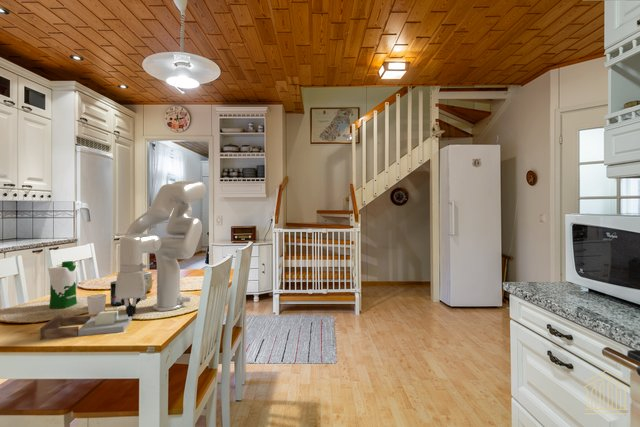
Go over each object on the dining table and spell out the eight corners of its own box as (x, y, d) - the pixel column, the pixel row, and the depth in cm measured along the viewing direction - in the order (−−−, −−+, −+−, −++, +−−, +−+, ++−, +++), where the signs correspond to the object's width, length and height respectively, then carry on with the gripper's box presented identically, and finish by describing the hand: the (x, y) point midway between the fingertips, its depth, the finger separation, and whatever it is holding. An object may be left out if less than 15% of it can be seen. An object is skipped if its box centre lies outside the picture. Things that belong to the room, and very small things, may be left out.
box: (90, 322, 130) (90, 312, 129) (77, 336, 116) (77, 324, 116) (58, 325, 126) (58, 314, 126) (40, 339, 113) (40, 327, 113)
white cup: (110, 310, 144) (110, 294, 144) (98, 315, 138) (98, 298, 137) (95, 309, 145) (95, 293, 145) (82, 314, 138) (82, 298, 138)
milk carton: (65, 309, 145) (64, 263, 144) (45, 308, 145) (44, 263, 145) (80, 303, 154) (80, 260, 153) (61, 302, 154) (61, 259, 153)
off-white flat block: (118, 318, 129) (118, 310, 129) (113, 323, 123) (113, 315, 123) (100, 319, 127) (100, 311, 127) (95, 325, 121) (95, 317, 121)
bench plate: (132, 318, 134) (132, 314, 134) (123, 331, 121) (123, 326, 121) (91, 322, 130) (91, 317, 130) (78, 335, 116) (78, 330, 116)
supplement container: (107, 306, 149) (107, 283, 149) (115, 302, 156) (115, 280, 156) (122, 306, 150) (122, 283, 149) (130, 302, 156) (130, 280, 156)
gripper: (154, 265, 133) (154, 311, 133) (111, 267, 128) (111, 314, 129) (151, 269, 126) (151, 317, 126) (105, 271, 121) (105, 320, 122)
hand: (131, 315), depth 128 cm, fingers closed
